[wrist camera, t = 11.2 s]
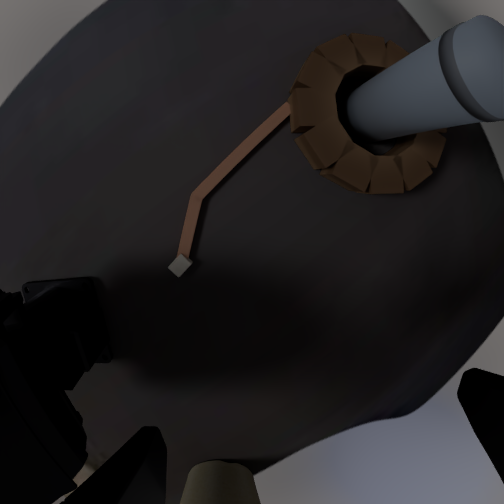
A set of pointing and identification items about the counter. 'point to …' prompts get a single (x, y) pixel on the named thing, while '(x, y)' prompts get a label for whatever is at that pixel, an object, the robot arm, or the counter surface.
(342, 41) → the brown segmented ring
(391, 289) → the counter surface
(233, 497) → the flower pot
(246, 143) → the lace
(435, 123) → the dark grey capped cylinder
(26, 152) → the counter surface
